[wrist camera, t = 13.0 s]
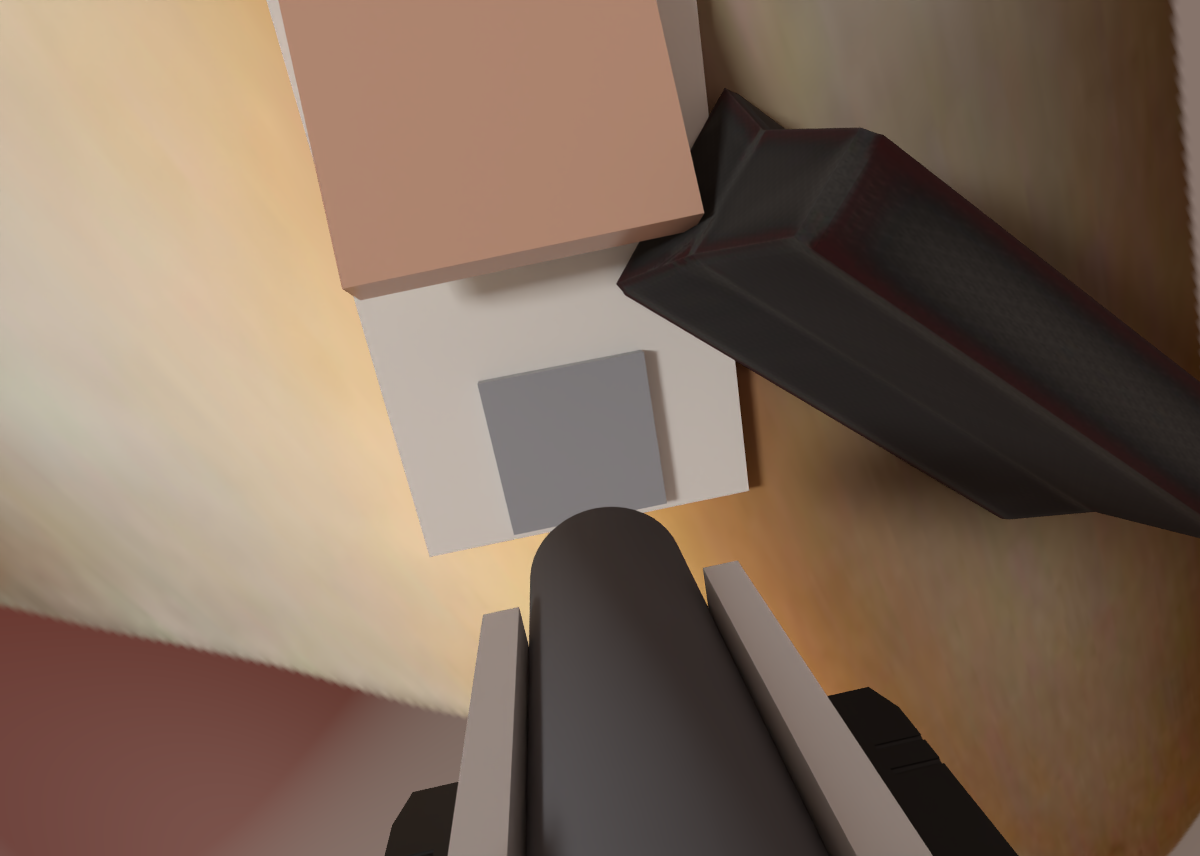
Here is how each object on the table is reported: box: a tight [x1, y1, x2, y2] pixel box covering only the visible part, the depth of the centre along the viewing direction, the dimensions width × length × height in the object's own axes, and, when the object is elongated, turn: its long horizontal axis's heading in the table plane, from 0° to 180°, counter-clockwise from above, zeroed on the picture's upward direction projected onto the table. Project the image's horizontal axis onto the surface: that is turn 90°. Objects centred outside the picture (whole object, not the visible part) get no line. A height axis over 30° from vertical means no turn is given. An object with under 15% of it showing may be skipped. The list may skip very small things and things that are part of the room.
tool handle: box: [526, 507, 830, 856], centre depth 10 cm, size 4×4×12 cm
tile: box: [278, 0, 704, 300], centre depth 20 cm, size 12×2×10 cm
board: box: [267, 0, 749, 557], centre depth 23 cm, size 15×26×1 cm, turn 10°
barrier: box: [616, 88, 1200, 538], centre depth 22 cm, size 24×9×10 cm, turn 60°
